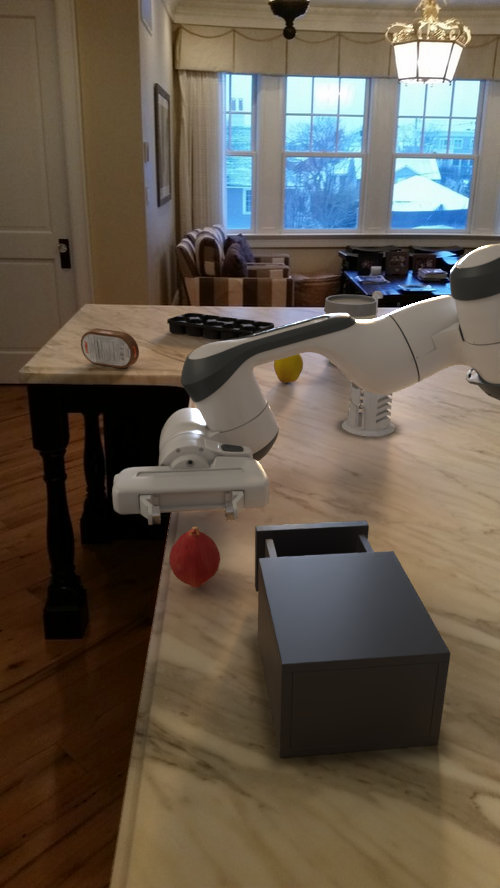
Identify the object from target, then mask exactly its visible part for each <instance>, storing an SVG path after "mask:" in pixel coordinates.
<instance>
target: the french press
mask: <svg viewBox="0 0 500 888" xmlns="http://www.w3.org/2000/svg"><path fill="white" fill-rule="evenodd" d="M371 297H372V298H375V299H377V304H376V316H375V319H376V318H378V313H377V311H378V309H379V308H378V307H379V299H384V293H383V292H382V291H380V290H375V291H374V292H372V295H371ZM348 391H349V392H348V393H349V394H348V410H347V418H346V420H344V421H343V422H342V424H341V427H342V429H343V430H344V431H346V432H347V433H349V434H353V435H355V436H361V437H383V436H388V435H390V434H392V433H394V431H395V430H396V427H395V425H394V424H393V423H392V422H391V418H390V417H391V415H392V412H391V411H389V410H392V405H391V404H392V402H393V398H391V397H393V393H390V394H385V395H381V394H374V393H370V392H367V391H365V390H363V389H361V388H360V387H358V386H357V385H355V384H354V383H353V382H352V381H351V380H350V382H349V390H348ZM361 391H363V392H361ZM361 397H363V399H362V398H361ZM360 410H362V411H360Z"/></svg>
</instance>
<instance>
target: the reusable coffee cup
mask: <svg viewBox="0 0 500 888" xmlns="http://www.w3.org/2000/svg"><path fill="white" fill-rule="evenodd" d="M376 304H377V299H376V298H372V296H368V295H364V294H335V295H329V296H327V297H326V298H325V301H324V307H323V308H324V309H323V311H324V313H325V315H327V314H334V313H346V314H349V315H350V316H351V317H352V318H354V319H355V320H371V319H375V318H376ZM377 314H378V310H377ZM328 361H329V363H330V364H332V365H334V364H333V363H332V362H331V361H330V360H329V359H328Z"/></svg>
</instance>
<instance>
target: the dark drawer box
mask: <svg viewBox="0 0 500 888" xmlns="http://www.w3.org/2000/svg"><path fill="white" fill-rule="evenodd" d="M258 566H259V567H258V592H257V602H258V603H257V641H258V647H259V653H260V657H261V664H262V669H263V675H264V679H265V687H266V691H267V696H268V702H269V707H270V713H271V719H272V723H273V729H274V736H275V741H276V745H277V751H278V757H279V758H281V759H282V758H283V759H284V758H293V757H295V758H296V757H306V756H307V757H308V756H317V755H318V756H319V755H330V754H331V755H332V754H342V753H355V752H365V751H376V750H377V751H378V750H389V749H402V748H415V747H426V746H437V745H439V740H440V733H441V725H442V720H443V719H442V717H443V711H444V705H445V704H444V703H445V697H446V689H447V682H448V675H449V669H450V668H449V667H450V659H451V651H450V649H449V647H448V646H447V644H446V642H445V641H444V639H443V637H442V635H441V633H440V631H439V630H438V628H437V626H436V625H435V624H436V623H435V622H434V621H433V619H432V617H431V615H430V613H429V612H428V610H427V608H426V607H425V605H424V603H423V601H422V599H421V598H420V596H419V594H418V592H417V591H416V589H415V587H414V585H413V583H412V582H411V580H410V578H409V577H408V574H407V572H406V571H405V569H404V567H403V565H402V564H401V562H400V560H399V558H398V557H397V555H396V553H395V551H394V550H388V551H386V550H385V551H374V552H367V553H348V554H330V555H312V556H294V557H276V558H259V563H258Z"/></svg>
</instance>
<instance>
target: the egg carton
mask: <svg viewBox="0 0 500 888" xmlns="http://www.w3.org/2000/svg"><path fill="white" fill-rule="evenodd" d="M166 324H168V329H169V332H170V333H173V334H186V335H188V336H193V337H201V336H203V338H207V339H212V340H216V339H218V340H219V339H221V341H223V340H228V339H233V338H238V337H243V336H247V335H251V334H254V333H258V332H261V331H265V330H269V329H272V328H275V323H273V322H271V321H270V322H269V321H263V320H262V321H260V320H253V319H246V318H238V317H230V316H229V317H228V316H221V315H215V314H214V315H213V314H207V313H206V314H205V313H199V312H187V313H183V314H179V315H175V316H173V317H170V318H167V320H166Z"/></svg>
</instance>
